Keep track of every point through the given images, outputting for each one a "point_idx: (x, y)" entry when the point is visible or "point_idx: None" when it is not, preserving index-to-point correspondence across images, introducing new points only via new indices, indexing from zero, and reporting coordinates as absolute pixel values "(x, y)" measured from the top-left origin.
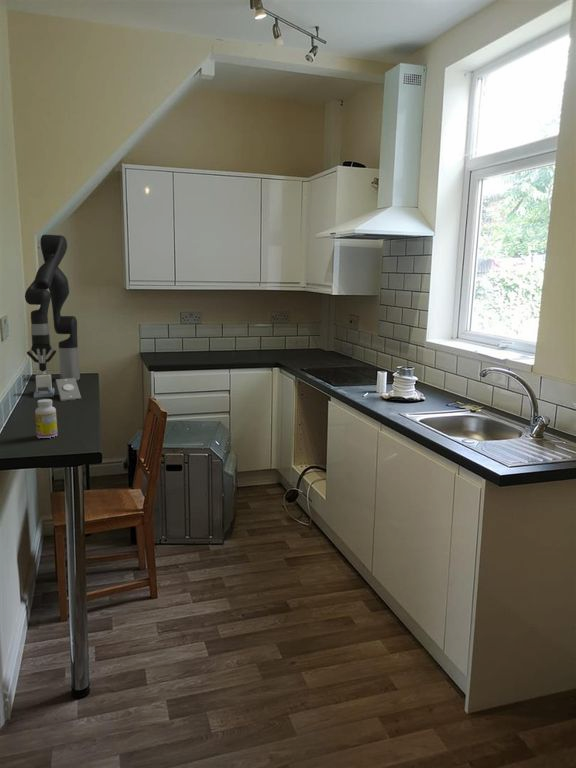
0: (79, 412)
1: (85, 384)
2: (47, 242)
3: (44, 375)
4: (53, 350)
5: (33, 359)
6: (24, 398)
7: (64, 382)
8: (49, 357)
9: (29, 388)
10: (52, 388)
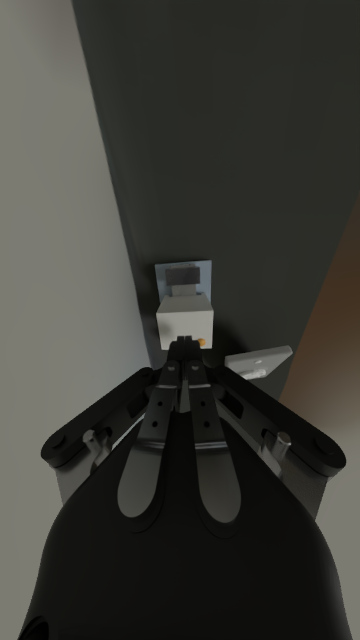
0: (245, 433)
1: (354, 106)
2: None
3: (189, 331)
4: (310, 487)
5: (135, 406)
6: (148, 342)
7: (249, 366)
8: (235, 416)
9: (115, 184)
10: (205, 274)
